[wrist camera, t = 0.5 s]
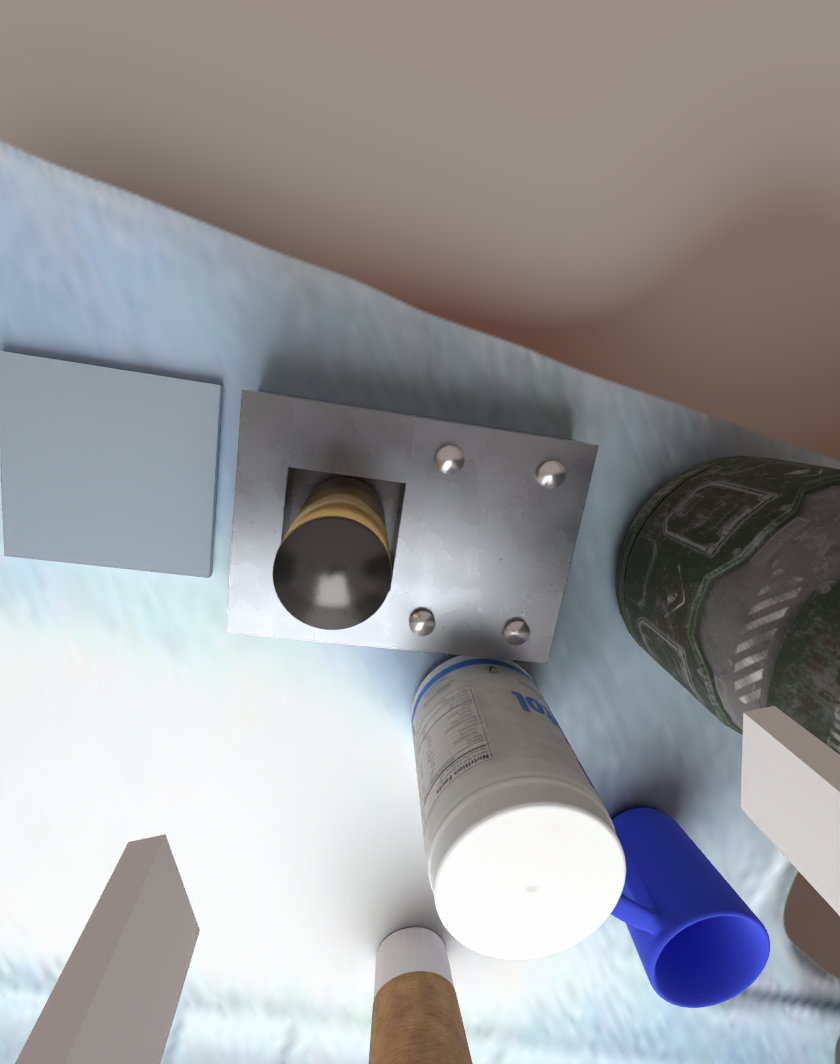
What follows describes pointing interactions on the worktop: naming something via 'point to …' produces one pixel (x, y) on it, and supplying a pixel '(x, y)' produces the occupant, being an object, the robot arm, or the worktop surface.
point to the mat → (108, 465)
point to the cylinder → (335, 557)
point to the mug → (685, 915)
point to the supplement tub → (509, 815)
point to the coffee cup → (415, 1003)
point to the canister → (742, 588)
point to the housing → (415, 523)
